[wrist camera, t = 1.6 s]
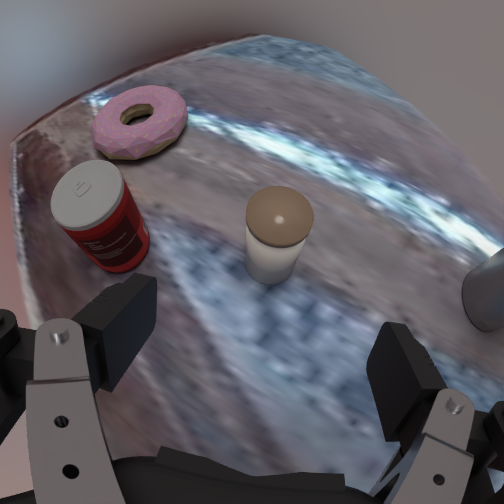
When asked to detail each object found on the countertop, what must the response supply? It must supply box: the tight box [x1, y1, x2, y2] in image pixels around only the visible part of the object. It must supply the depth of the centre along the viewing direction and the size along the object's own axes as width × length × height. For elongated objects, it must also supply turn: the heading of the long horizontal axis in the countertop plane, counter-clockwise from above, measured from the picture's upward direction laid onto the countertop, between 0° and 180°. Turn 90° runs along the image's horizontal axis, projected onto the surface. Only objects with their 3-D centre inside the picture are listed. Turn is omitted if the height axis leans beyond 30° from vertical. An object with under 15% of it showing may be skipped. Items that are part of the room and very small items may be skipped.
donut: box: [91, 85, 188, 160], centre depth 41 cm, size 16×15×5 cm
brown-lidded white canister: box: [245, 186, 314, 285], centre depth 30 cm, size 6×6×10 cm
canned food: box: [51, 160, 149, 273], centre depth 29 cm, size 8×8×11 cm
